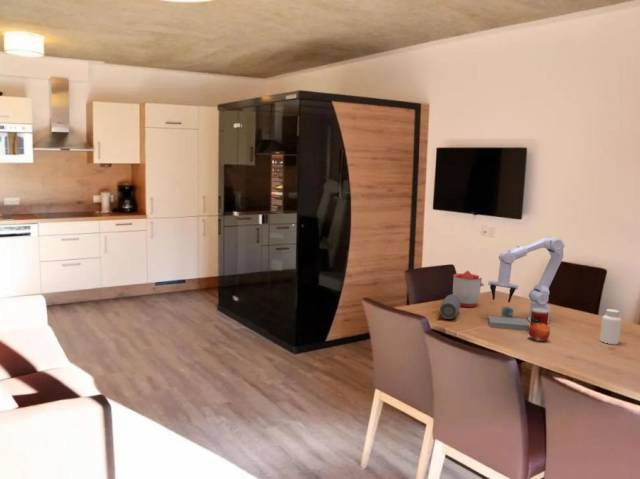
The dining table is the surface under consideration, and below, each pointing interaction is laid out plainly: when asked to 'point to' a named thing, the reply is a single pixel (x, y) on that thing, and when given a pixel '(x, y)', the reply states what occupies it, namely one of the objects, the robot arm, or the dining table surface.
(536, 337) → the tomato
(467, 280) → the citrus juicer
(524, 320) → the base board
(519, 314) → the dining table surface
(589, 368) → the dining table surface
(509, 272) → the robot arm
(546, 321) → the canned food
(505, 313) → the teal block
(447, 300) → the bluetooth speaker
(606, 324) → the pill bottle
